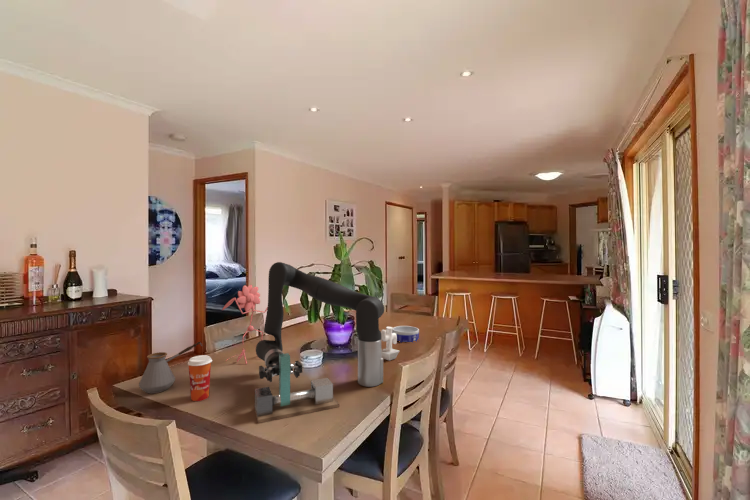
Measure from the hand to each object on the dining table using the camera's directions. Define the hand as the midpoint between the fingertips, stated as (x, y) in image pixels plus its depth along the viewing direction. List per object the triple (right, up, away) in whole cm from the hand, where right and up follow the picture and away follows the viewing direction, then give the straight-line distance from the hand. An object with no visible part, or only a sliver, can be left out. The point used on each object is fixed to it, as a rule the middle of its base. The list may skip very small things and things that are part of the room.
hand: (284, 376), depth 115 cm
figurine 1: (-30, -10, +50) cm, 59 cm away
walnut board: (+3, -11, +2) cm, 11 cm away
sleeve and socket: (+3, -10, +1) cm, 10 cm away
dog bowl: (+47, -10, +85) cm, 98 cm away
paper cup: (-32, -11, +8) cm, 35 cm away
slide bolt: (+2, -9, +1) cm, 9 cm away
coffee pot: (-48, -10, +19) cm, 52 cm away
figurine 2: (+36, -10, +51) cm, 64 cm away
